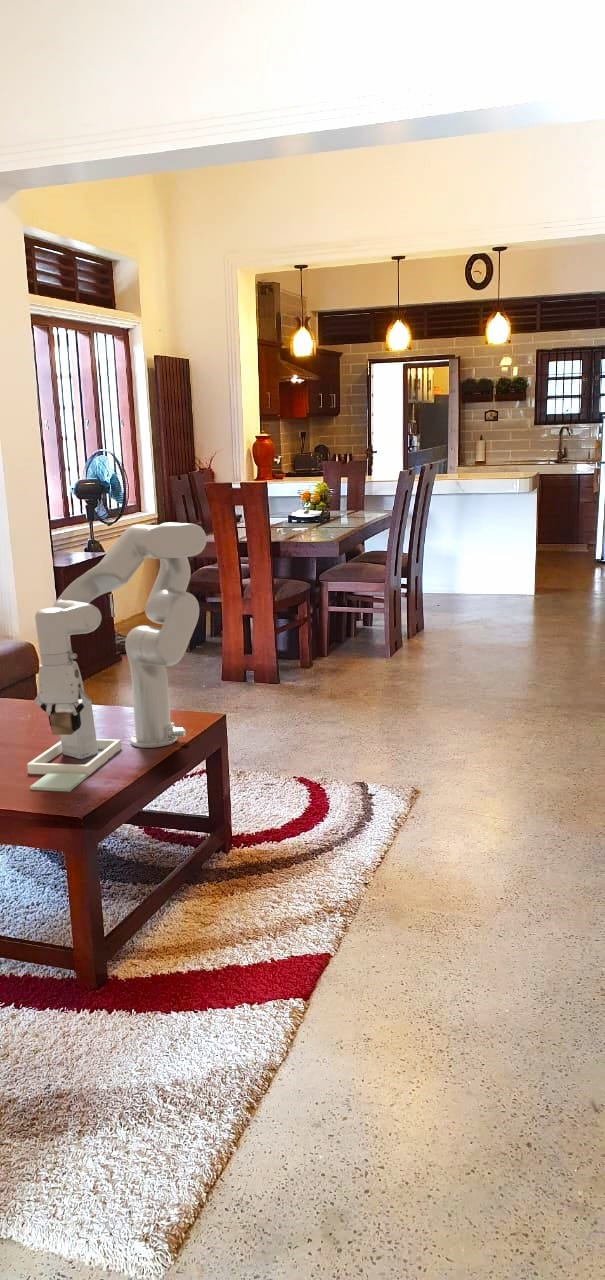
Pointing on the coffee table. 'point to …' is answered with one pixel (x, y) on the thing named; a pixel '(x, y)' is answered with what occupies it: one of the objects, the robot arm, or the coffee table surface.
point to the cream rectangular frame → (43, 767)
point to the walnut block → (62, 722)
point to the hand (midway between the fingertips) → (66, 728)
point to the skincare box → (80, 735)
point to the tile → (58, 781)
